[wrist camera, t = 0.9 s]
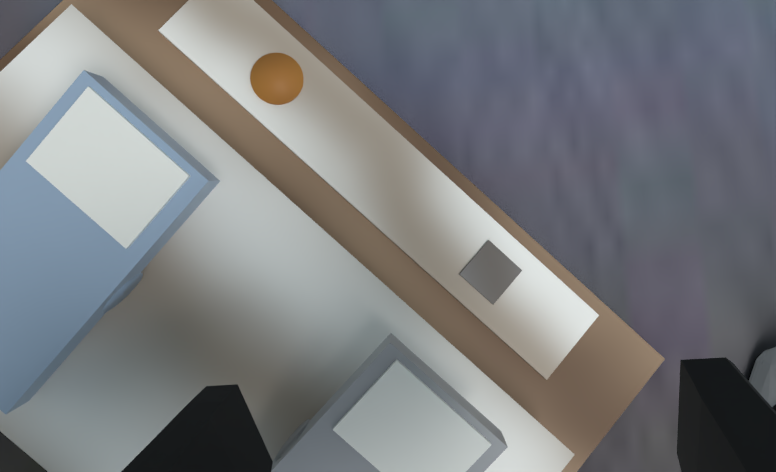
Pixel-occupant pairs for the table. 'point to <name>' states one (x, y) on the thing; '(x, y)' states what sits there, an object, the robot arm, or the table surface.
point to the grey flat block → (393, 423)
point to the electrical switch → (765, 376)
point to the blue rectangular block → (82, 224)
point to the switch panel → (304, 252)
